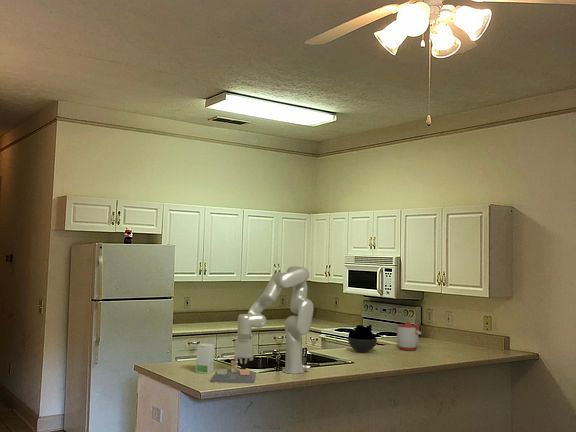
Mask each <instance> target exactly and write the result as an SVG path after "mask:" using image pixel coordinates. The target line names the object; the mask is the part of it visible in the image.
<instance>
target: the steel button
mask: <svg viewBox="0 0 576 432" xmlns="http://www.w3.org/2000/svg"><path fill="white" fill-rule="evenodd" d="M216 371H217V375H227V372H228V371H229V370H228V368H217V370H216Z"/></svg>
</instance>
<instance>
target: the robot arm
mask: <svg viewBox="0 0 576 432" xmlns="http://www.w3.org/2000/svg"><path fill="white" fill-rule="evenodd" d="M309 277H310V271H309V270H308V269H307V267H303V266H294V265H293V266H288V268H287V269H286V272H282V271H279V272H274V273H273V274H272V276H271V277H270V279H269V281H268V283H267V284H266V287H265V289H263V292H262V294H261V295H260V296H258V298H256V300H255V301H254V302H253V303H252V304H251V306H250V307H249V309H248V312H247V313H241V314H238V316H237V338H236V339H235V344H234V353H233V354H234V357H233V360H238V363H239V364H240V370H241V369H247V363H248V362H250V361H254V341H253V339H254V338H255V336H254V334H252V328H263V327H265V326H266V324H267V318H266V316H265V315H263V314H262V312H263V311H264V310H265V309H266V308H267V307H268V306H271V305H272V304H274V303H276V301H277V300H278V297H279V295H280V293H281V292H282V290H283V288H284V289H288V288H291V287H292V293H291V300H290V305H289V309H290V312H292V313H293V314H296V315H289V316H288V317H287V318H286V319H285V321H284V331H285V357H284V359H285V361H284V362H285V364H284V365H285V368H284V367H283V368H282V372H283V373H285V374H291V375H292V374H293V375H294V374H296V375H297V374H303V373H305V370H310V369H311V365H309V364H306V365H305V364H303V336H304V335H307V334H308V333H309V332H310V330H311V326H312V321H313V316H314V304H313V302H312V300H311V299H308V298H307V297H308V291H309V290H308V285H307V284H308V283H307V281H308V280H309ZM252 338H253V339H252ZM243 359H244V361H243Z"/></svg>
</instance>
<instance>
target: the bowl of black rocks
mask: <svg viewBox="0 0 576 432" xmlns="http://www.w3.org/2000/svg"><path fill="white" fill-rule="evenodd" d="M372 327H373V326H372V324H369V325H367V326H364V325H362V324H361V325H360V324H359V325H356V327H355V329H354V330H353V331H350V332H348V336H347V342H348V343H349V344H348V345H349V346H350V347H351V348H352V349H353V350H354V351H356V352H358V353H367V352H369V351H370V352H371V351H372V350H373V349H374V347H375V346H376V344H377V342H378V338H377V337H376V335H375V334H374V333H373V332H372Z"/></svg>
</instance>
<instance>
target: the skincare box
mask: <svg viewBox="0 0 576 432" xmlns="http://www.w3.org/2000/svg"><path fill="white" fill-rule="evenodd" d="M215 347H216V344H211V343H205V342H201V343H198V344H197V345H196V358H195V359H196V360H195V373H199V374H205V375H206V374H208V375H209V374H211V373H213V372H214V364H215V362H214V361H215Z"/></svg>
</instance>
